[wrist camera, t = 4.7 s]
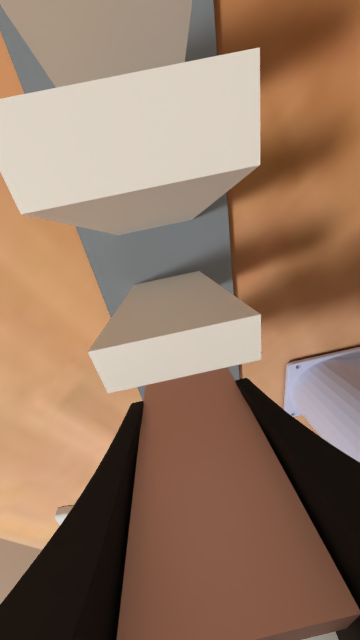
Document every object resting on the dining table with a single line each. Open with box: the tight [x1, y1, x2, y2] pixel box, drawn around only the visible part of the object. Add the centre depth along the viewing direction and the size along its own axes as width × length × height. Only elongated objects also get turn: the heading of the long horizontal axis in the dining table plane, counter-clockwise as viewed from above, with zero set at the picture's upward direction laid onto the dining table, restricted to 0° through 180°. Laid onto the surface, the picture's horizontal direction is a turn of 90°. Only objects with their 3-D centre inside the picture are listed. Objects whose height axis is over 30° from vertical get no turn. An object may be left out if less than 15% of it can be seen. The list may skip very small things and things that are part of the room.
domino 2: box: [0, 47, 260, 235], centre depth 7 cm, size 5×2×9 cm, turn 101°
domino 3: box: [88, 271, 261, 393], centre depth 9 cm, size 5×2×9 cm, turn 101°
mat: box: [0, 0, 240, 401], centre depth 12 cm, size 10×32×1 cm, turn 11°
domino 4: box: [117, 367, 360, 640], centre depth 8 cm, size 5×2×9 cm, turn 101°
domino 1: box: [0, 0, 192, 88], centre depth 5 cm, size 5×2×9 cm, turn 101°
